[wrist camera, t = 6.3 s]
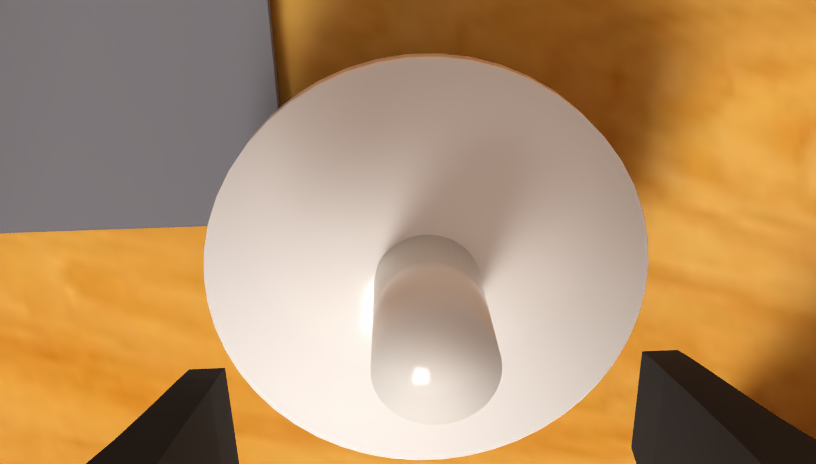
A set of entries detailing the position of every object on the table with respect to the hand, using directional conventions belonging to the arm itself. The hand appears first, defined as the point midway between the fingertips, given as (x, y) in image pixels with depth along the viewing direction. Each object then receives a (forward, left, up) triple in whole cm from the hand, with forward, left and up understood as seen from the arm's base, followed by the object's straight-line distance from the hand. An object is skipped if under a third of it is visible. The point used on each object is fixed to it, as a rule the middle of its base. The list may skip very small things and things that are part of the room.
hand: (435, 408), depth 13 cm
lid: (0, 0, -5) cm, 5 cm away
